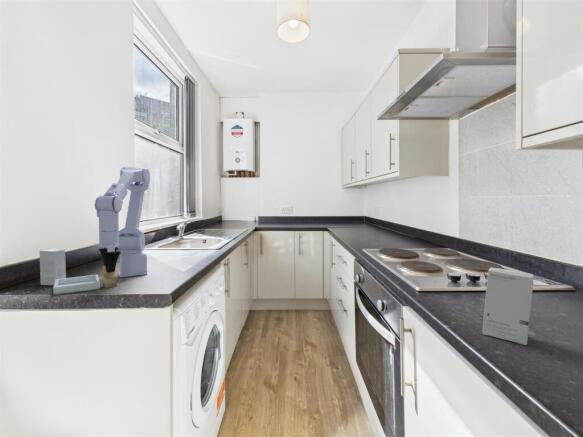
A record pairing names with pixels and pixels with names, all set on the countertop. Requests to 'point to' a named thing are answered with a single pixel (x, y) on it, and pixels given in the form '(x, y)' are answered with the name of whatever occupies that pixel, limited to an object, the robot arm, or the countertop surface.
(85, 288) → the tray
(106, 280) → the birch cylinder
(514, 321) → the skincare box
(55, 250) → the skincare box
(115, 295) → the countertop surface
